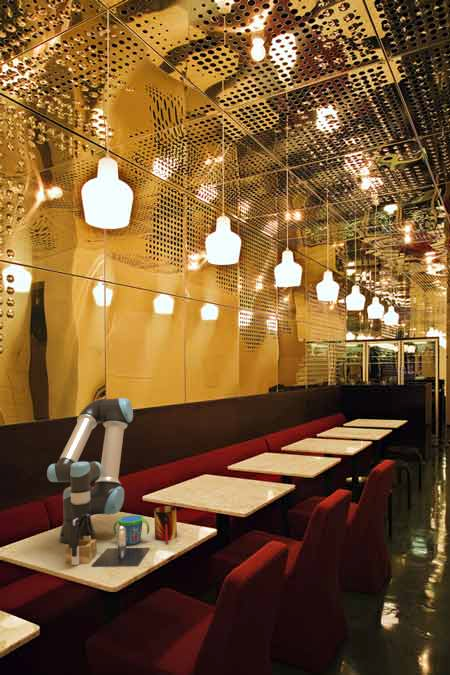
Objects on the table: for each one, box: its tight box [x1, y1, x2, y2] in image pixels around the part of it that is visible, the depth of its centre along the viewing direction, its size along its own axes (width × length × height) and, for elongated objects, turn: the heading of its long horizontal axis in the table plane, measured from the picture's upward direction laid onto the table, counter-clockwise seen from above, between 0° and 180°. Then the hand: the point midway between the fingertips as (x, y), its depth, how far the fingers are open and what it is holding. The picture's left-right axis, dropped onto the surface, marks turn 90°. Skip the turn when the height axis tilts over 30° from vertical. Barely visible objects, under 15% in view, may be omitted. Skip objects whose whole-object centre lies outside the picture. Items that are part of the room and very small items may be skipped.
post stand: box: [91, 525, 151, 568], centre depth 186 cm, size 18×18×12 cm
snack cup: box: [112, 514, 150, 546], centre depth 203 cm, size 16×10×10 cm
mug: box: [153, 506, 178, 543], centre depth 206 cm, size 10×14×12 cm
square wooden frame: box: [65, 538, 98, 565], centre depth 186 cm, size 9×9×6 cm
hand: (81, 558), depth 186 cm, fingers open, 12 cm apart
